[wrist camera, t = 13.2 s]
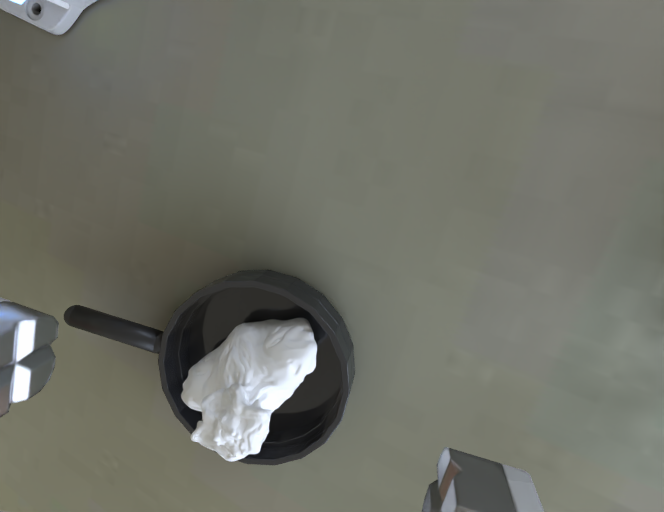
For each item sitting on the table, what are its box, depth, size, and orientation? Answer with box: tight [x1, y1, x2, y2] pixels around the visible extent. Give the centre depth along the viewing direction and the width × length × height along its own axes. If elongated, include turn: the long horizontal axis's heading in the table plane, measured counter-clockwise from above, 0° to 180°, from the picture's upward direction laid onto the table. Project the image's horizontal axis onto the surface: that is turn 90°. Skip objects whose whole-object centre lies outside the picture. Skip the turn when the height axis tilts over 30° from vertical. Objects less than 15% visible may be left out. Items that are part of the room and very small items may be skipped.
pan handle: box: [64, 305, 163, 354], centre depth 37 cm, size 9×2×2 cm, turn 76°
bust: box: [181, 318, 317, 461], centre depth 34 cm, size 12×8×11 cm
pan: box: [158, 270, 355, 465], centre depth 37 cm, size 15×15×4 cm
